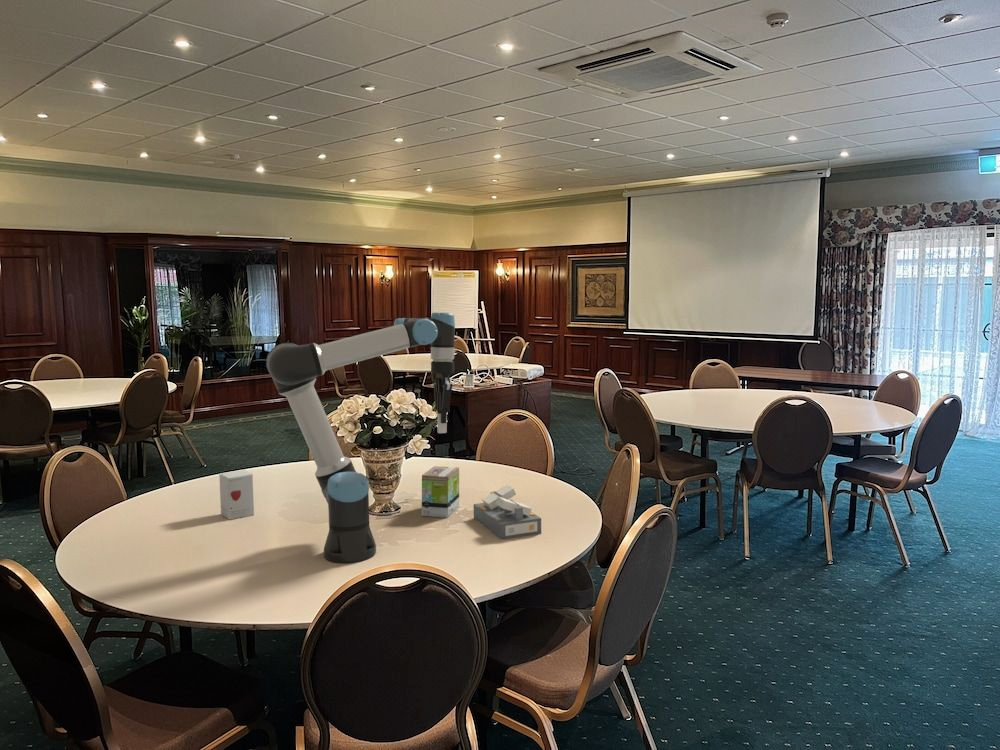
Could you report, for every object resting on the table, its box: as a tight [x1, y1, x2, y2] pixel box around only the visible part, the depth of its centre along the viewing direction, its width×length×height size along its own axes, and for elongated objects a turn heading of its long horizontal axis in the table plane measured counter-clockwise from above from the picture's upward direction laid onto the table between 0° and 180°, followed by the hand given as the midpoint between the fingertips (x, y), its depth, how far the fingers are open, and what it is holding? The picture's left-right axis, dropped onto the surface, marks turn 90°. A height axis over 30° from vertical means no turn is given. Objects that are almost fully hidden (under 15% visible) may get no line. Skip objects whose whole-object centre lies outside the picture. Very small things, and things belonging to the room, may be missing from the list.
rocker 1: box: [481, 484, 517, 510], centre depth 235 cm, size 10×6×3 cm, turn 113°
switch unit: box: [473, 491, 542, 540], centre depth 230 cm, size 14×24×9 cm, turn 23°
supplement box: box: [218, 469, 255, 520], centre depth 245 cm, size 9×9×15 cm
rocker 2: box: [495, 497, 533, 516], centre depth 224 cm, size 10×6×3 cm, turn 113°
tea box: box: [421, 465, 460, 518], centre depth 247 cm, size 15×10×15 cm, turn 168°
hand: (442, 432), depth 226 cm, fingers closed
